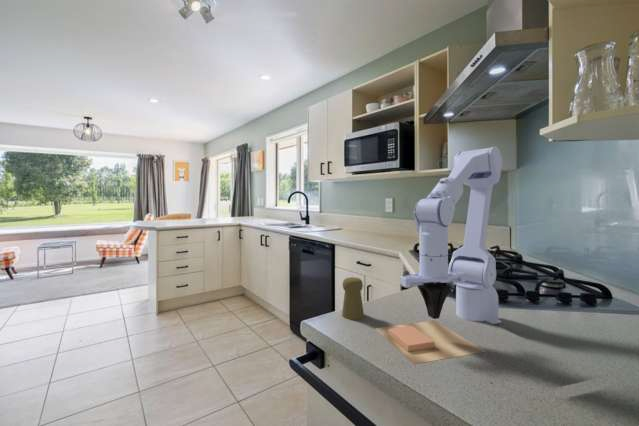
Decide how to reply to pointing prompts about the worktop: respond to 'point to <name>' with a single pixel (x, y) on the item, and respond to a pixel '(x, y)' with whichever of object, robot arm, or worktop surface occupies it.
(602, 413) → the worktop surface
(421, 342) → the tile
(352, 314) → the pepper shaker
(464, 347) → the tan cloth
